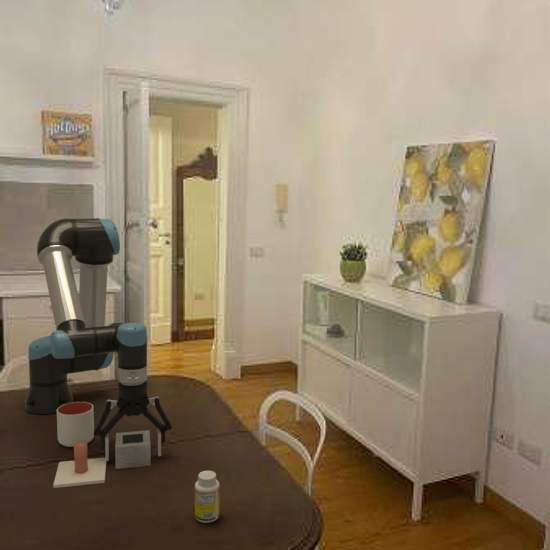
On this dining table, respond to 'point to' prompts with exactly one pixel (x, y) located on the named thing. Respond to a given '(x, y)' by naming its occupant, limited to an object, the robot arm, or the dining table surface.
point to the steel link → (132, 449)
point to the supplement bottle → (207, 497)
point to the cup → (75, 423)
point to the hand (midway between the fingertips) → (133, 456)
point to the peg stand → (80, 469)
